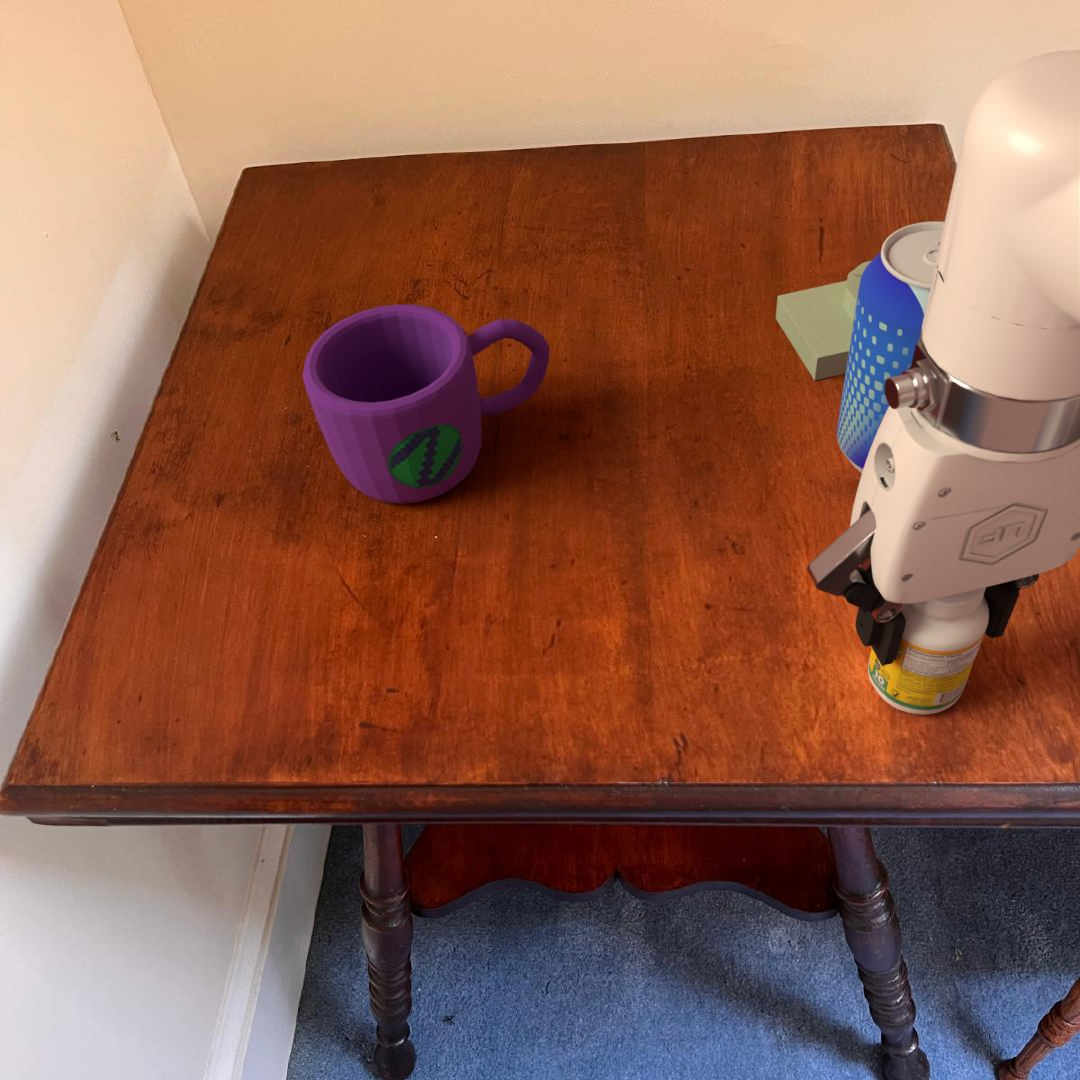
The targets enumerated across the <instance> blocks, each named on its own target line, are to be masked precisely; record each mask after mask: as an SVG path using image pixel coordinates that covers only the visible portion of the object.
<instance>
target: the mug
mask: <svg viewBox="0 0 1080 1080" xmlns="http://www.w3.org/2000/svg"><path fill="white" fill-rule="evenodd" d="M504 339H508V340H514V341H516V342H518V343H520V344H522V345H523V346H525V347H526V348H527V349H528V350H529V351H530V359H529V362H528V366H527V370H526V372H525V374H524V375H523V377H522V379H521V381H520V382H519V383H517V384H516V385H514V386H513V387H511V388H509V389H507V390H504V391H503V392H501V393H498V394H495V395H490V396H487V397H486V396H480V392H479V384H478V378H477V371H476V366H475V360H474V356H476V355H477V354H479V353H481V352H482V351H484V350H485V349H487V348H489V347H490V346H492V345H493V344H495V343H497V342H499V341H502V340H504ZM549 363H550V345H549V343H548V341H547V340H546V338H545V336H544V335H543V334H541V332H540V331H538V330H536V328H534V327H533V326H531V325H529V324H527V323H525V322H522V321H521V320H520V321H519V320H517V319H515V318H513V319H508V318H507V319H506V318H505V319H496V320H494V321H491V322H489V323H487V324H485V325H482V326H481V327H479V328H478V329H476V330H475V331H473V332H472V333H471V334H469V335H468V334H467V333H466V331H465V329H464V328H463V326H461V325H460V324H459V322H457V321H456V320H455V319H454V318H453V317H452V316H450V315H448V314H447V313H444V312H442V311H440V310H438V309H436V308H432V307H428V306H424V305H419V304H404V303H403V304H401V303H397V304H390V305H381V306H376V307H373V308H369V309H366V310H362V311H358V312H357V313H354V314H352V315H350V316H348V317H345V318H344V319H341V320H340V321H338V322H337V323H335V324H333V325H332V326H331V327H328V329H326V330H325V331H324V332H323V333H322V334H321V335H320V336H319V337H318V338H317V339H316V340H315V341H314V342H313V344H312V345H311V348H310V349H309V351H308V353H307V354H306V357H305V360H304V365H303V372H302V379H303V382H304V386H305V390H306V394H307V397H308V399H309V402H310V405H311V408H312V410H313V413H314V416H315V419H316V421H317V424H318V426H319V428H320V431H321V433H322V435H323V437H324V440H325V442H326V445H327V448H328V450H329V451H330V452H329V453H330V454H331V456H332V458H333V459H334V461H335V463H336V465H337V466H338V468H339V470H340V471H341V473H342V474H343V476H344V477H345V478H346V479H347V481H348V482H349V483H350V484H351V485H352V487H354V488H355V489H356V490H358V491H359V492H361V493H363V494H364V495H366V496H367V497H369V498H370V499H373V500H378V501H379V502H383V503H388V504H389V503H390V504H400V505H401V504H402V505H403V504H412V503H420V502H423V501H426V500H430V499H434V498H437V497H438V496H440V495H442V494H445V493H446V492H448V491H450V490H452V489H453V488H455V487H456V486H457V485H458V484H460V483H461V482H462V481H464V480H465V479H466V478H467V476H468V475H469V474H470V472H471V471H472V469H473V468H474V467H475V465H476V462H477V460H478V457H479V453H480V451H481V448H482V417H483V416H484V417H485V416H486V417H487V416H488V417H489V416H494V415H499V414H502V413H505V412H508V411H510V410H513V409H515V408H517V407H518V406H520V405H522V404H524V403H525V402H526V401H528V400H529V398H530V399H531V397H532V396H533V395H534V394H536V393H537V391H538V390H539V388H540V387H541V384H542V382H543V381H544V379H545V376H546V374H547V370H548V367H549Z"/></svg>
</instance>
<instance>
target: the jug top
mask: <svg viewBox="0 0 1080 1080" xmlns="http://www.w3.org/2000/svg"><path fill="white" fill-rule="evenodd" d="M871 261H872V260H867V261H865V262H862V263H860V264H859V265H858V266H857V267H855V268H854V269H853V270H851V271H850V272H849V273H848V274H847V278H846V280H843V281H839V282H838V281H837V282H833V283H829V284H825V285H820V286H815V287H810V288H807V289H802V290H798V291H794V292H789V293H785V294H780V295H777V299H776V308H775V309H776V311H775V320H776V321H777V323H778V325H779V326H780V328H781V329H782V331H783V333H784V335H785V336H786V337H787V339H788V341H789V342H790V344H791V346H792V347H793V348H794V350H795V353H796V354H797V355H798V357H799V359H800V360H801V361H802V363H803V365H804V366H805V368H806V369H807V371H808V373H809V374H810V376H811V378H812V379H813V381H820V380H824V379H828V378H832V377H838V376H841V375H845V374H846V367H847V361H848V355H849V348H850V342H851V336H852V329H853V323H854V317H855V310H856V304H857V298H858V291H859V285H860V280H861V277H862V274H863V272H864V270H865V268H866V267H867V266H868V264H869V263H870V262H871Z"/></svg>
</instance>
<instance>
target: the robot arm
mask: <svg viewBox="0 0 1080 1080" xmlns="http://www.w3.org/2000/svg"><path fill="white" fill-rule="evenodd" d="M944 222H945V223H944V227H943V232H942V237H941V241H940V246H939V250H938V255H937V259H936V264H935V269H934V273H933V278H932V282H931V287H930V291H929V296H928V301H927V305H926V310H925V314H924V319H923V323H922V329H921V334H920V338H919V342H918V343H916V345H915V350H914V354H913V359H912V364H911V367H910V368H908V369H907V370H905V371H904V372H902V375H898V376H894V377H890V378H887V380H886V382H885V396H886V399H887V402H888V404H889V407H888V409H887V411H886V413H885V416H884V418H883V420H882V422H881V424H880V426H879V429H878V431H877V433H876V436H875V438H874V441H873V443H872V446H871V448H870V451H869V454H868V457H867V460H866V463H865V465H864V468H863V472H862V473H861V476H860V479H859V482H858V485H857V489H856V494H855V497H854V502H853V506H852V510H851V515H850V516H851V517H850V525H849V527H848V528H847V529H846V530H845V531H844V532H843V533H841V534H840V535H839V536H838V537H837V538H836V539H835V540H834V541H833V542H832V543H830V544H829V545H828V546H827V547H826V548H825V549H824V550H823V551H821V552H820V553H819V554H818V555H816V557H815V558H814V559H812V560H811V561H810V562H809V563H808V565H807V566H806V570H807V573H808V574H809V577H810V578H811V580H812V582H813V584H814V586H815V588H816V590H818V591H821V592H823V593H826V594H829V595H832V596H835V597H843V598H845V600H846V602H847V603H848V604H850V605H853V606H855V607H857V613H856V618H855V625H854V626H855V632H856V634H857V636H858V638H859V640H860V642H861V643H862V645H863V646H864V647H866V648H867V647H871V649H872V648H873V650H874V652H875V654H876V656H877V658H878V660H879V661H880V663H881V665H883V666H884V665H888V664H892V663H893V662H894V660H896V657H897V654H898V650H899V646H900V643H901V639H902V636H903V632H904V629H905V625H906V620H905V617H904V615H903V614H902V612H901V609H902V608H903V607H904V605H905V604H909V603H919V602H924V601H929V600H934V599H938V598H943V597H947V596H951V595H955V594H959V593H964V592H968V591H972V590H976V589H980V588H984V587H986V589H985V592H984V597H985V599H986V601H987V604H988V608H989V621H988V625H987V628H986V631H985V634H984V635H985V636H986V637H988V638H991V639H996V638H999V637H1000V638H1001V637H1003V636H1004V634H1005V632H1006V629H1007V626H1008V624H1009V622H1010V619H1011V617H1012V614H1013V611H1014V609H1015V607H1016V604H1017V602H1018V599H1019V597H1020V595H1021V594H1020V591H1021V590H1022V589H1026V588H1029V587H1031V586H1033V585H1034V584H1035V583H1036V582H1038V580H1039V579H1040V574H1042V573H1046V572H1048V571H1051V570H1054V569H1057V568H1059V567H1061V566H1062V565H1065V564H1066V563H1068V562H1070V561H1071V560H1072V559H1073V558H1074V557H1075V555H1076V554H1077V553H1078V552H1079V550H1080V49H1073V50H1072V49H1071V50H1059V51H1053V52H1047V53H1043V54H1040V55H1035V56H1032V57H1030V58H1027V59H1025V60H1022V61H1019V62H1017V63H1016V64H1013V65H1012V66H1010V67H1008V68H1006V69H1005V70H1003V71H1001V72H1000V74H998V75H996V77H994V78H993V79H992V80H991V81H990V82H989V83H988V84H987V85H986V86H985V87H984V89H983V90H982V92H981V93H980V94H979V96H978V97H977V99H976V101H975V102H974V103H973V106H972V108H971V110H970V112H969V115H968V118H967V122H966V126H965V130H964V134H963V136H962V141H961V145H960V150H959V155H958V159H957V164H956V168H955V172H954V177H953V182H952V187H951V191H950V195H949V200H948V205H947V210H946V214H945V218H944Z"/></svg>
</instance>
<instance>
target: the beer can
mask: <svg viewBox="0 0 1080 1080" xmlns="http://www.w3.org/2000/svg"><path fill="white" fill-rule="evenodd" d="M944 223H945V221H922V222H917V223H912V224H909V225H905V226H903V227H901V228H899V229H896V230H895V231H894V232H892V233H891V234H890V235H889V236H887V237H886V239H885V240H884V241H883V243H882V246H881V250H880V252H878V254H877V255H876V256H875V257H874V258H873V259H872V260H870V261H871V262H870V263H869V264H868V266H867V267H866V268H865V270H864V272H863V274H862V277H861V280H860V285H859V291H858V298H857V304H856V310H855V317H854V323H853V329H852V336H851V342H850V348H849V355H848V361H847V367H846V374H844V380H843V385H842V386H843V387H842V393H841V400H840V406H839V412H838V419H837V425H836V440H837V444H838V446H839V448H840V450H841V452H842V453H843V455H844V456H845V457H846V458H847V460H848V461H849V462H850V464H851V465H852V466H853V468H854V469H856V470H857V471H858V472H859V473H860V474H862V472H863V468H864V465H865V463H866V460H867V457H868V454H869V451H870V448H871V446H872V443H873V441H874V438H875V436H876V433H877V431H878V429H879V426H880V424H881V422H882V420H883V418H884V416H885V413H886V411H887V409H888V407H889V404H888V402H887V399H886V396H885V382H886V380H887V378H890V377H894V376H898V375H902V372H904V371H905V370H907V369H908V368H910V367H911V364H912V359H913V354H914V350H915V345H916V343H918V342H919V338H920V334H921V329H922V323H923V319H924V314H925V310H926V305H927V301H928V296H929V291H930V287H931V282H932V278H933V273H934V269H935V264H936V259H937V255H938V250H939V246H940V241H941V237H942V232H943V227H944Z"/></svg>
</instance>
